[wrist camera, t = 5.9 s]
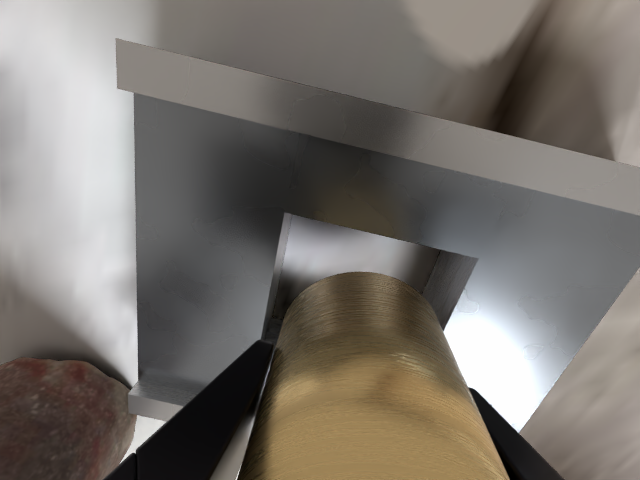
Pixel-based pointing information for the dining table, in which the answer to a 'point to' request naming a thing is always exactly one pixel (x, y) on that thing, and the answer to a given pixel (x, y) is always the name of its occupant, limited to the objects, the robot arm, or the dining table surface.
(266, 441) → the gold flared round piece
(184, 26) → the dining table surface
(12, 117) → the dining table surface
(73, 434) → the candle
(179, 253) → the jig
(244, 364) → the robot arm
